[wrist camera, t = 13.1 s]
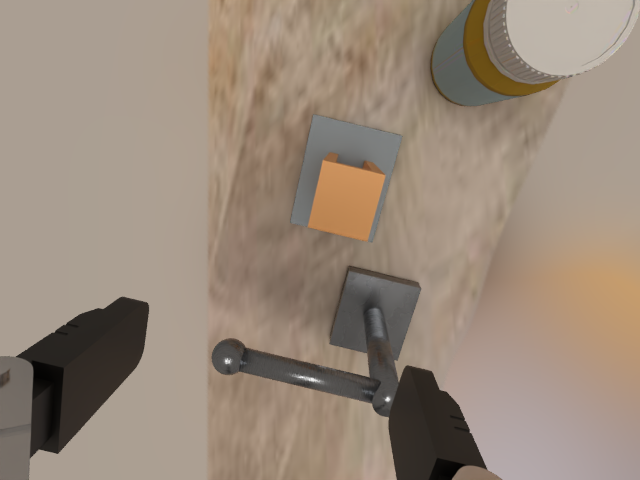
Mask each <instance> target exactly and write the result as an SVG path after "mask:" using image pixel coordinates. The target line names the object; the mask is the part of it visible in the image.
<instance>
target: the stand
mask: <svg viewBox="0 0 640 480" xmlns="http://www.w3.org/2000/svg"><path fill="white" fill-rule="evenodd" d="M420 291H421V287H420V285H419V283H418V282H414V281H410V280H405V279H401V278H397V277H393V276H389V275H385V274H381V273H376V272H372V271H368V270H364V269H360V268H356V267H352V266H349V268H348V272H347V275H346V279H345V283H344V286H343V290H342V294H341V298H340V301H339V305H338V309H337V312H336V316H335V320H334V324H333V327H332V331H331V335H330V343H329V344H331V345H335V346H339V347H343V348H348V349H352V350H356V351H360V352H364V353H367V355H368V365H369V375H370V377H365V376H361V375H357V374H353V373H349V372H345V371H341V370H336V369H332V368H328V367H324V366H320V365H316V364H311V363H307V362H303V361H299V360H295V359H291V358H287V357H282V356H278V355H274V354H270V353H266V352H262V351H258V350H253V349H249V348H246V347H245V345H244V344H243V343H242V342H241V341H239V340H237V339H233V338H229V339H225V340H222V341H221V342H219V343H218V344H217V345H216V346H215V348H214V350H213V353H212V363H213V366H214V367H215V369H216V370H217V371H218V372H220V373H221V374H224V375H233V374H236V373H238V372H243V373H247V374H251V375H256V376H260V377H264V378H268V379H272V380H276V381H280V382H285V383H289V384H293V385H297V386H301V387H305V388H310V389H314V390H318V391H322V392H326V393H330V394H334V395H339V396H343V397H347V398H351V399H355V400H359V401H364V402H368V403H372V404H373V408H374V410H375V411H376V412H377V413H378V414H379V415H381V416H385V417H389V414H390V409H391V406H392V403H393V400H394V397H395V394H396V391H397V388H398V385H399V382H398V377H397V372H396V368H395V363H394V360H398V357H399V354H400V351H401V348H402V345H403V342H404V339H405V336H406V333H407V330H408V327H409V324H410V321H411V318H412V315H413V312H414V309H415V306H416V303H417V300H418V297H419V294H420Z"/></svg>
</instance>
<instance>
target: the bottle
mask: <svg viewBox="0 0 640 480" xmlns="http://www.w3.org/2000/svg"><path fill="white" fill-rule="evenodd" d="M639 12H640V0H473V1H472V2H471V3H470V4H469V5H468V6H467V7H466V8H465V9H464V10H463V11H462V12H461V13H460V14H459V15H458V16H457V17H456V18H455V19H454V20H453V21H452V23H451V24H450V25H449V26H448V27H447V28H446V29H445V30H444V32H443V33H442V34H441V36H440V37H439V39H438V40H437V42H436V45H435V47H434V50H433V52H432V58H431V73H432V77H433V81H434V84H435V85H436V87H437V89H438V90H439V92H440V93H441V94H442V95H443V96H444V97H445V98H447V99H448V100H449V101H451V102H453V103H456V104H459V105H462V106H479V105H484V104H488V103H493V102H498V101H503V100H507V99H512V98H517V97H521V96H526V95H529V94H533V93H536V92H539V91H542V90H545V89H547V88H549V87H550V86H552V85H553V84H555V83H556V82H558V81H559V80H561V79H564V78H568V77H572V76H575V75H579V74H582V73H583V72H587V71H589V70H591V69H592V68H595V67H597V66H598V65H599V64H601V63H602V62H604V61H605V60H607V59H608V58H609V57H610V56H611V55H613V54H614V53H615V52H616V51H617V50H618V49H619V48H620V46H621V45H622V44H623V43H624V42H625V40H626V39H627V37H628V36H629V34H630V33H631V31H632V29H633V27H634V25H635V23H636V20H637V18H638V15H639Z"/></svg>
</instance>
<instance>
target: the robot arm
mask: <svg viewBox="0 0 640 480" xmlns="http://www.w3.org/2000/svg"><path fill="white" fill-rule="evenodd" d="M148 314H149V305H148V303H147V302H143V301H139V300H134V299H130V298H126V297H120V298H119V299H117V300H116V301H114V302H113V303H112V304H110V305H109V306H107V307H106V308H104V309H99V308H98V309H95V310H91V311H88V312H85V313H82V314H80V315H78V316H77V317H75V318H74V319H72V320H71V321H69V322H68V323H67V324H66V325H63V326H62V327H60V328H59V329H57V330H56V331H55V333H51V334H49V335H48V336H46V337H45V338H43V339H42V340H40V341H39V342H37V343H36V344H34V345H33V346H31V347H30V348H28V349H27V350H25V351H24V352H22V353H21V354H19V355H18V356H16V357H10V356H1V357H0V480H29V465H30V458H31V457H32V456H33V455H34V454H35V453H36V451H38V450H39V449H40V450H44V451H48V452H53V453H57V454H58V453H59V452H60V451H61V450H62V449H63V448H64V446H66V444H67V443H68V442H69V441H70V440H71V439H72V438H73V437H74V435H76V433H77V432H78V431H79V430H80V429H81V428H82V427H83V426H84V425H85V423H86V422H87V421H88V420H89V419H90V418H91V416H93V415H94V413H95V412H96V411H97V410H98V409H99V408H100V407H101V406H102V405H103V403H104V402H105V401H106V400H107V399H108V398H109V397H110V396H111V395H112V394H113V392H114V391H115V390H116V389H117V388H118V387H119V386H120V385H121V384H122V383H123V381H124V380H125V379H126V378H127V377H128V376H129V375H130V374H131V373H132V372H133V370H134V369H135V368H136V367H137V365H138V363H139V361H140V359H141V357H142V354H143V350H144V345H145V337H146V329H147V322H148ZM464 420H465V418H464V416H463V414H462V412H461V410H460V407H459V405H458V404H457V403H456V402H455V401H454V399H453V398H452V397H451V396H450V395H449V394H448V393H447V392H445V391H441V390H439V387H438V385H437V382H436V380H435V377H434V375H433V373H432V371H429V370H425V369H421V368H416V367H412V366H406V367H405V368H404V370H403V373H402V376H401V379H400V382H399V385H398V388H397V391H396V394H395V397H394V400H393V403H392V406H391V409H390V414H389V435H390V441H391V447H392V453H393V459H394V465H395V471H396V477H397V480H502V479H501V478H499V477H498V476H497V475H495V474H494V473H492V472H490V471H488V470H487V468H486V465H485V463H484V461H483V459H482V456H481V454H480V452H479V450H478V447H477V445H476V443H475V441H474V438H473V436H472V434H471V433H470V429H469V427H468V425H467V423H466V421H464Z"/></svg>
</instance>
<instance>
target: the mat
mask: <svg viewBox="0 0 640 480" xmlns="http://www.w3.org/2000/svg"><path fill="white" fill-rule="evenodd" d="M401 139H402V136H401V135H397V134H393V133H389V132H385V131H380V130H376V129H372V128H368V127H364V126H360V125H356V124H351V123H347V122H343V121H339V120H335V119H331V118H327V117H323V116H318V115H314V114H313V119H312V124H311V128H310V133H309V137H308V142H307V147H306V151H305V156H304V161H303V165H302V170H301V174H300V179H299V184H298V188H297V193H296V197H295V202H294V207H293V211H292V216H291V221H290V223H293V224H297V225H302V226H306V227H308V223H309V219H310V214H311V210H312V206H313V201H314V197H315V193H316V188H317V184H318V180H319V175H320V171H321V166H322V162H323V159H324V158H325V157H326V156H327V155H328V154H329V152H331V153H336V154H338V158H337V162H338V163H342V164H346V165H350V166H354V167H359V168H363V165H364V161H369V162H373V163H374V164H375V165H376V166H377V167H378V168H379V169H380V170H381V171H382V172H383V173H384V174H385V175H386V176H385V180H384V184H383V187H382V191H381V194H380V198H379V202H378V205H377V209H376V212H375V216H374V220H373V223H372V227H371V230H370V234H369V238H368V242H373V238H374V235H375V231H376V228H377V224H378V221H379V217H380V214H381V210H382V207H383V203H384V199H385V196H386V192H387V189H388V185H389V182H390V178H391V175H392V171H393V168H394V164H395V160H396V157H397V153H398V150H399V146H400V143H401Z"/></svg>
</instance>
